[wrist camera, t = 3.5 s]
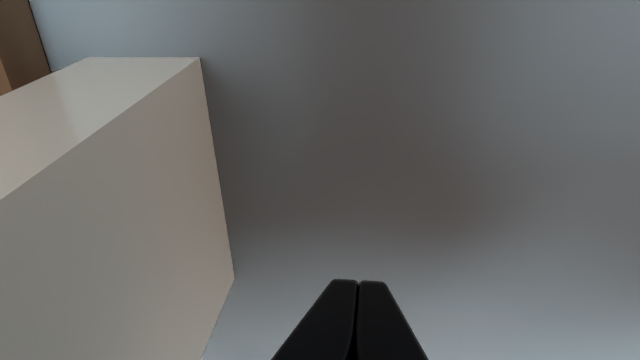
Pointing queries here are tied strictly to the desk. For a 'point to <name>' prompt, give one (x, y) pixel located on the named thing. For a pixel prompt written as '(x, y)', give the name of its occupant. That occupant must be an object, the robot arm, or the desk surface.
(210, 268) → the cream rectangular block
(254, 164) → the desk surface
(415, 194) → the desk surface
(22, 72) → the walnut rail
